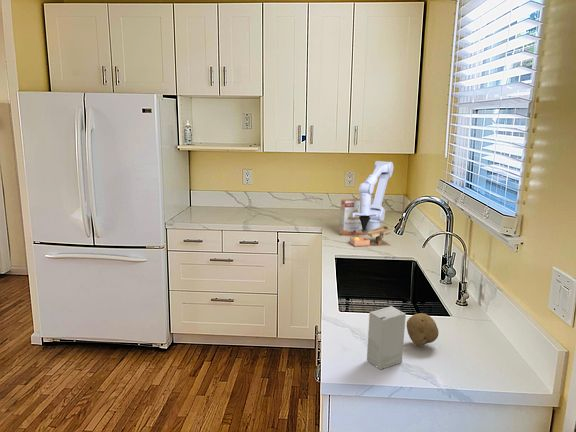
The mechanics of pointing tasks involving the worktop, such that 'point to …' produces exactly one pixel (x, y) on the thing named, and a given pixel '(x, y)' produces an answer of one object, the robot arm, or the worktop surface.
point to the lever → (377, 231)
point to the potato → (422, 329)
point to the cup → (360, 241)
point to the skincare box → (386, 337)
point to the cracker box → (350, 217)
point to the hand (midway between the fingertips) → (363, 229)
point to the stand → (376, 242)
